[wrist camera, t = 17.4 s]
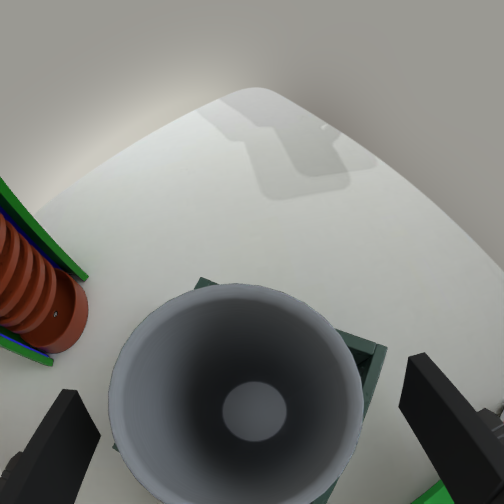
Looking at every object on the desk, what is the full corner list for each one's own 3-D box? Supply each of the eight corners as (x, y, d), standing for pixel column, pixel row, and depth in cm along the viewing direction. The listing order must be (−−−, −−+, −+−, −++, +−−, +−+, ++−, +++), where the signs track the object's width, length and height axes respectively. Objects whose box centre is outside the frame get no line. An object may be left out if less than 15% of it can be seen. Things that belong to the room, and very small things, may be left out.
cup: (226, 468, 18) (156, 544, 5) (194, 384, 21) (86, 325, 8) (317, 434, 19) (401, 462, 6) (281, 352, 22) (300, 249, 9)
